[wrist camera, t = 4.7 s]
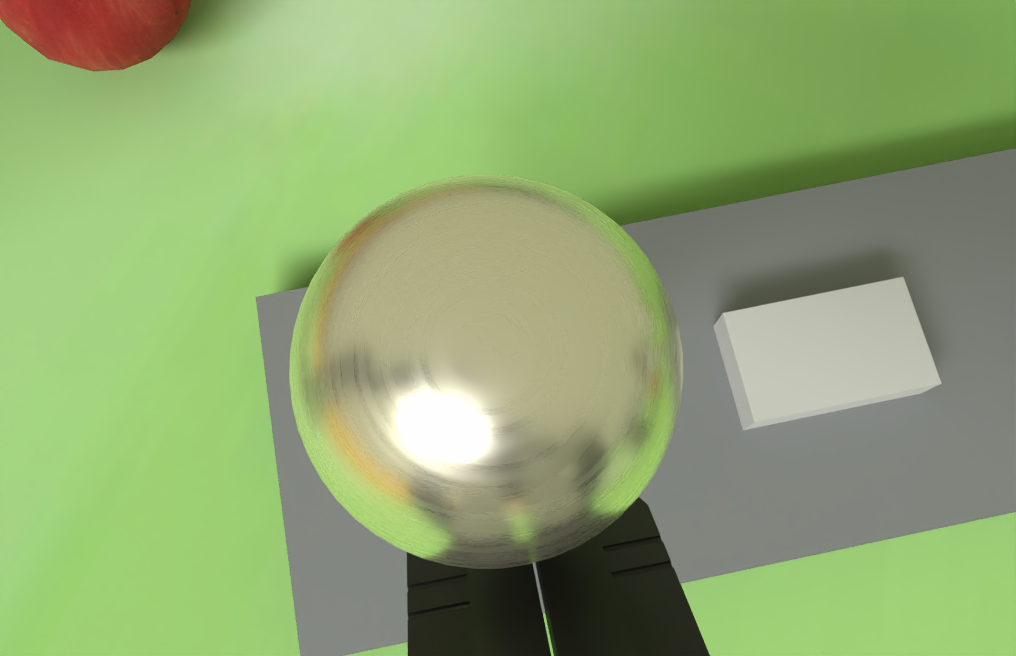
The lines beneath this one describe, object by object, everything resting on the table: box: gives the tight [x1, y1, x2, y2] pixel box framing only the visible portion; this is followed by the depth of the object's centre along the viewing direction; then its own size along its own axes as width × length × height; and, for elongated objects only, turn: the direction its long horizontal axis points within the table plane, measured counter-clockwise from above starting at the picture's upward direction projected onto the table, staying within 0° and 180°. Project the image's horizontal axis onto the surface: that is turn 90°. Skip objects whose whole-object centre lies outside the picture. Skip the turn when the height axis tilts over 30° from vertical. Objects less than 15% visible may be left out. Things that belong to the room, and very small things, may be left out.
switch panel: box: [256, 148, 1016, 656], centre depth 23 cm, size 10×30×4 cm, turn 102°
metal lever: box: [289, 175, 683, 569], centre depth 15 cm, size 4×4×17 cm
